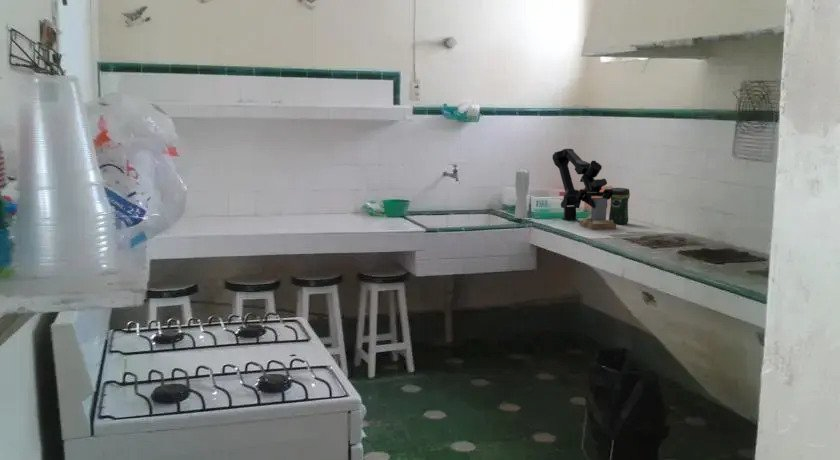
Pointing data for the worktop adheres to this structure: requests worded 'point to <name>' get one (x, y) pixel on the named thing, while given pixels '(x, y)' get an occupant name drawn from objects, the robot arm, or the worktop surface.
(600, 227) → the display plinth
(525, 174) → the white waisted cylinder
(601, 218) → the tall grey pillar block
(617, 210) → the coffee jar
